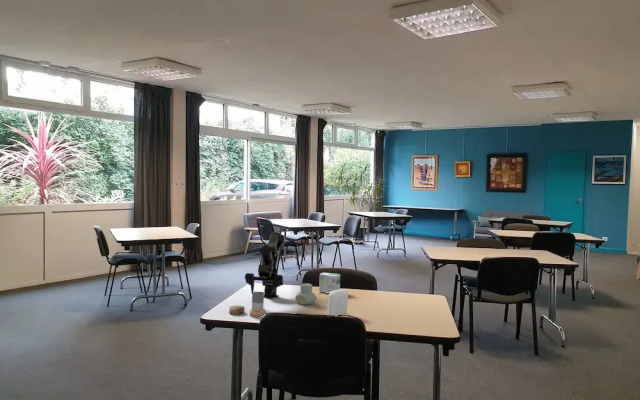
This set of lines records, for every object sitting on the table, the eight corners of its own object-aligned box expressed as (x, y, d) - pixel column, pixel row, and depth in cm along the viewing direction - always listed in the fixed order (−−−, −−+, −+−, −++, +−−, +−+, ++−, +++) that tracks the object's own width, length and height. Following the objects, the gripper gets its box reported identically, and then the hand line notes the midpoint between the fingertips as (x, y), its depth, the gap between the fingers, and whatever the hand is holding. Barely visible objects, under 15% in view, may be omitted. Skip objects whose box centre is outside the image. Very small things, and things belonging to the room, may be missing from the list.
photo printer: (343, 312, 213) (344, 287, 212) (348, 315, 209) (349, 289, 208) (325, 315, 207) (326, 289, 206) (330, 318, 203) (331, 292, 203)
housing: (253, 308, 205) (254, 291, 205) (263, 308, 205) (263, 292, 205) (251, 311, 201) (252, 294, 201) (261, 311, 201) (261, 294, 200)
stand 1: (237, 309, 210) (237, 304, 210) (247, 312, 206) (247, 307, 206) (226, 312, 205) (226, 307, 205) (236, 316, 201) (236, 310, 200)
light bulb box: (339, 292, 251) (340, 274, 250) (336, 295, 245) (336, 276, 244) (322, 290, 255) (323, 271, 254) (318, 292, 248) (319, 274, 248)
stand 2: (257, 311, 208) (257, 306, 208) (268, 315, 204) (268, 309, 204) (246, 315, 202) (246, 310, 202) (257, 318, 198) (257, 313, 198)
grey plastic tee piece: (292, 303, 225) (293, 284, 225) (302, 300, 232) (303, 281, 232) (309, 307, 219) (309, 287, 218) (318, 304, 225) (319, 285, 225)
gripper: (246, 257, 215) (239, 284, 205) (283, 259, 214) (279, 286, 204) (249, 269, 224) (243, 296, 213) (285, 271, 222) (281, 298, 212)
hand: (261, 294), depth 210 cm, fingers open, 9 cm apart
